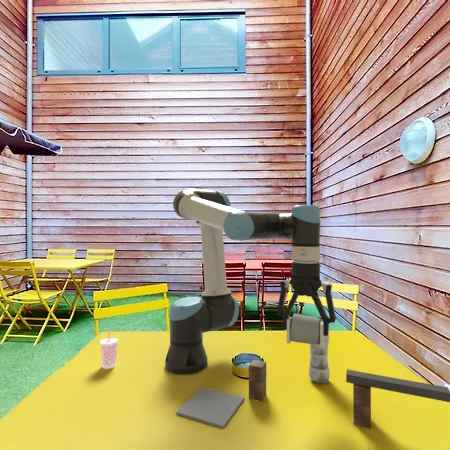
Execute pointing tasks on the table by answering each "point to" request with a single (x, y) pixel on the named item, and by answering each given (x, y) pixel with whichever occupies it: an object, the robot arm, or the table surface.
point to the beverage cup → (108, 351)
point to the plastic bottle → (319, 362)
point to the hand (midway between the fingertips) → (305, 344)
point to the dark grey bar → (398, 385)
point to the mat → (211, 407)
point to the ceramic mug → (305, 329)
